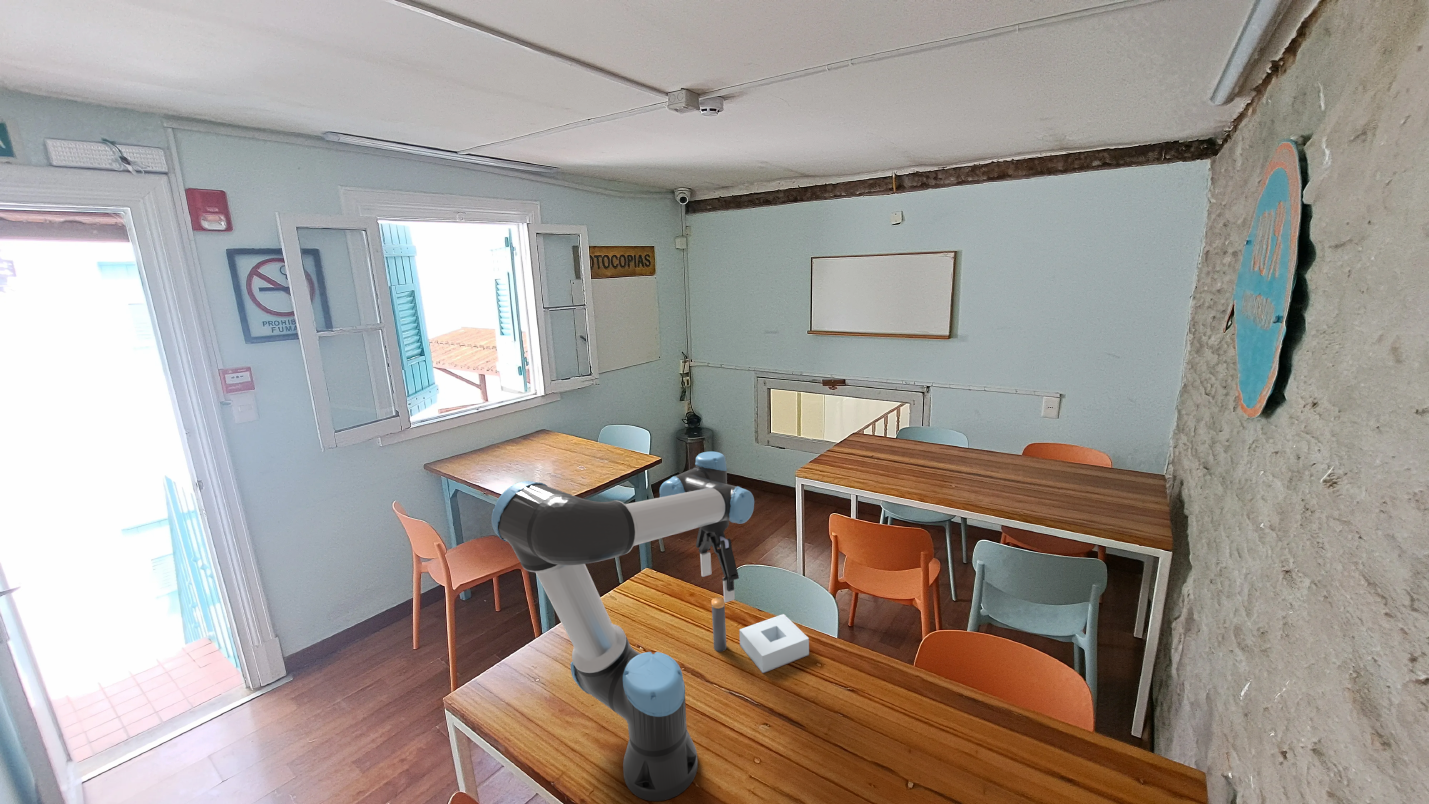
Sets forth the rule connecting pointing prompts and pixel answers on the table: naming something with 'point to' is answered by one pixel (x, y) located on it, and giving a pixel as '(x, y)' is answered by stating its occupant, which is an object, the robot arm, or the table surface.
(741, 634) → the socket block
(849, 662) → the table surface
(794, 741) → the table surface
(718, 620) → the marker
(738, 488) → the robot arm
